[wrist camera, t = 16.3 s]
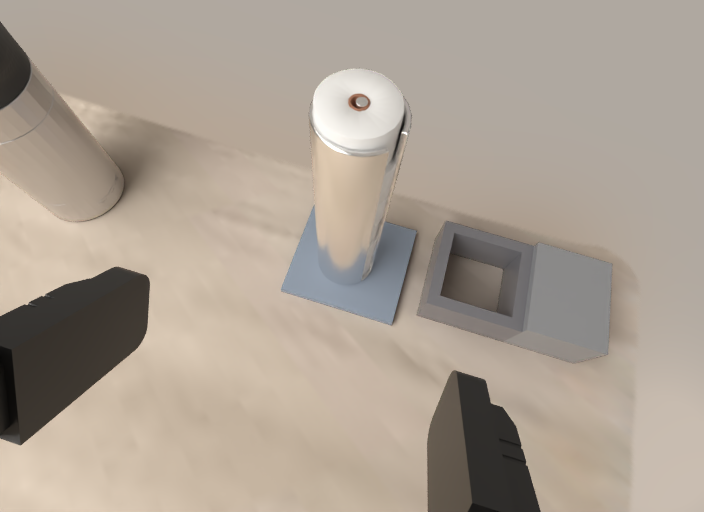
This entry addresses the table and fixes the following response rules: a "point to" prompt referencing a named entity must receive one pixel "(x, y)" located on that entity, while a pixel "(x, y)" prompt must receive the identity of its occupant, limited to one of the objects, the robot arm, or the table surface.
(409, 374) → the table surface
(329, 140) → the chrome and white cylinder
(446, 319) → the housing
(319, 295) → the rubber mat
